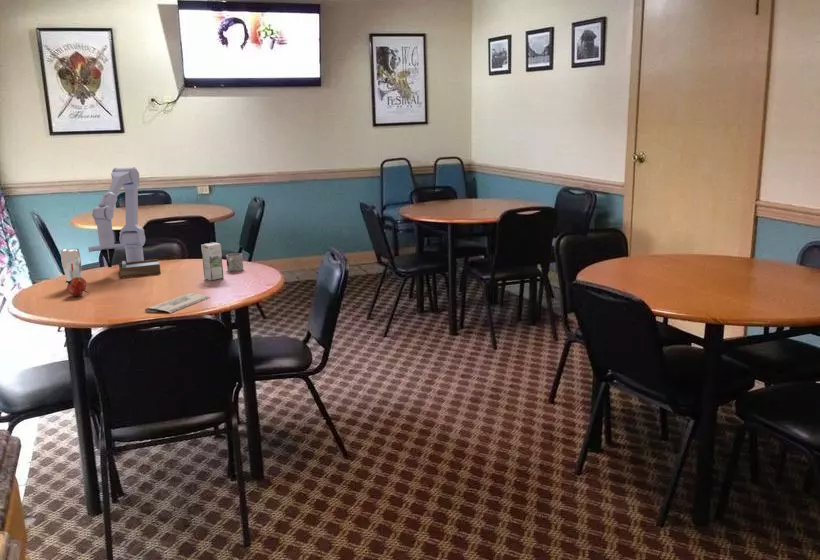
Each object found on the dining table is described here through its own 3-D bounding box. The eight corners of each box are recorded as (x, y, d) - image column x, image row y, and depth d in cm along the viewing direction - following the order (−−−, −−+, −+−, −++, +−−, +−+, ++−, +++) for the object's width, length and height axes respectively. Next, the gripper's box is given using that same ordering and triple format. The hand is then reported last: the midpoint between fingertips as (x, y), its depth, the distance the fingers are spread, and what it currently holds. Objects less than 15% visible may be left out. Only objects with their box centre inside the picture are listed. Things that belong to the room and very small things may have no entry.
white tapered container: (72, 285, 287) (66, 248, 284) (88, 285, 286) (82, 248, 283) (61, 289, 280) (56, 251, 277) (78, 289, 279) (72, 251, 276)
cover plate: (122, 267, 308) (121, 260, 307) (158, 263, 313) (157, 256, 313) (122, 271, 298) (121, 265, 297) (160, 267, 304) (159, 260, 303)
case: (119, 272, 309) (118, 263, 308) (158, 268, 315) (157, 259, 314) (120, 277, 297) (119, 268, 296) (160, 273, 303) (159, 264, 302)
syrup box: (216, 276, 292) (213, 241, 289) (224, 278, 288) (220, 243, 285) (204, 279, 288) (200, 244, 285) (211, 281, 284) (207, 245, 281)
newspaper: (182, 297, 261) (182, 291, 261) (210, 302, 257) (210, 296, 257) (139, 313, 241) (138, 306, 240) (168, 319, 237) (168, 312, 236)
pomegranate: (84, 298, 274) (59, 286, 268) (94, 282, 274) (70, 270, 268) (86, 304, 268) (60, 292, 262) (97, 288, 268) (71, 275, 262)
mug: (230, 268, 308) (228, 253, 306) (245, 268, 307) (243, 253, 306) (223, 273, 298) (221, 258, 296) (238, 273, 298) (237, 257, 296)
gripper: (86, 238, 292) (91, 270, 294) (124, 234, 297) (128, 266, 300) (87, 235, 298) (91, 267, 301) (124, 232, 303) (128, 263, 306)
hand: (110, 266), depth 301 cm, fingers closed
